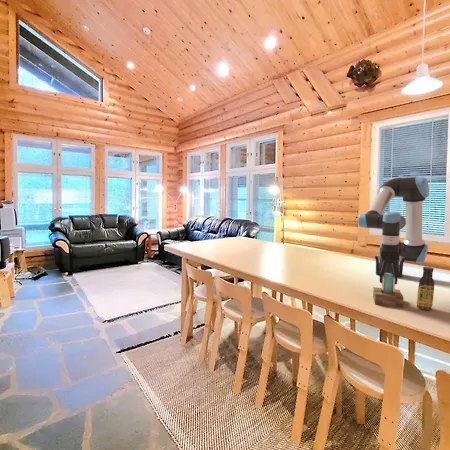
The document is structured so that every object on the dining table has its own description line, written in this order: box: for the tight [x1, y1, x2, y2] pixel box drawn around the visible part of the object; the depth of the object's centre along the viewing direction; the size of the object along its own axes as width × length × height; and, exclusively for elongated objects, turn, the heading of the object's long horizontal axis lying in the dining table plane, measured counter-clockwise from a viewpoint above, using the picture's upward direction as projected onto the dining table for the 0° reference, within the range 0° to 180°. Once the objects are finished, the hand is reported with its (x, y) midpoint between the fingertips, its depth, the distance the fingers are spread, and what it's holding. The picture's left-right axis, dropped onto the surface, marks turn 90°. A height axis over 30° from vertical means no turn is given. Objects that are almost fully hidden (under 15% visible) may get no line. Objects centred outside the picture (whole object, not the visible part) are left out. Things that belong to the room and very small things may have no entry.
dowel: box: [383, 273, 393, 294], centre depth 152 cm, size 4×4×12 cm
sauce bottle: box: [416, 266, 435, 311], centre depth 143 cm, size 7×6×20 cm
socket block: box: [372, 287, 404, 308], centre depth 153 cm, size 12×12×5 cm
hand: (387, 289), depth 153 cm, fingers closed on dowel, 4 cm apart
